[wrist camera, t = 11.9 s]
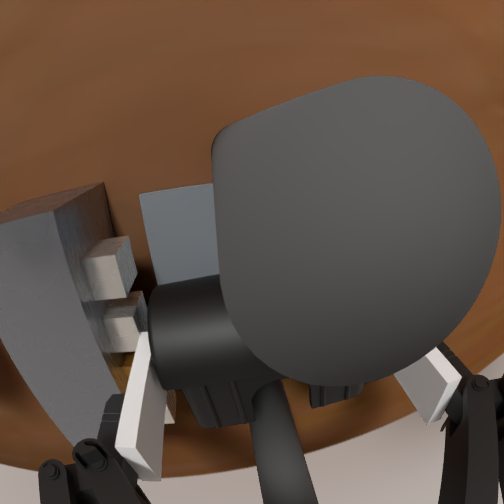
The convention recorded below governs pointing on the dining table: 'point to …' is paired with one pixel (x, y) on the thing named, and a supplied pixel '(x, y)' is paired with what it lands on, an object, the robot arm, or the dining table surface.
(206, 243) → the mat
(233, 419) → the black rounded block
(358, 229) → the post
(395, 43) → the dining table surface
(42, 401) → the breaker panel
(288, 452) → the post
